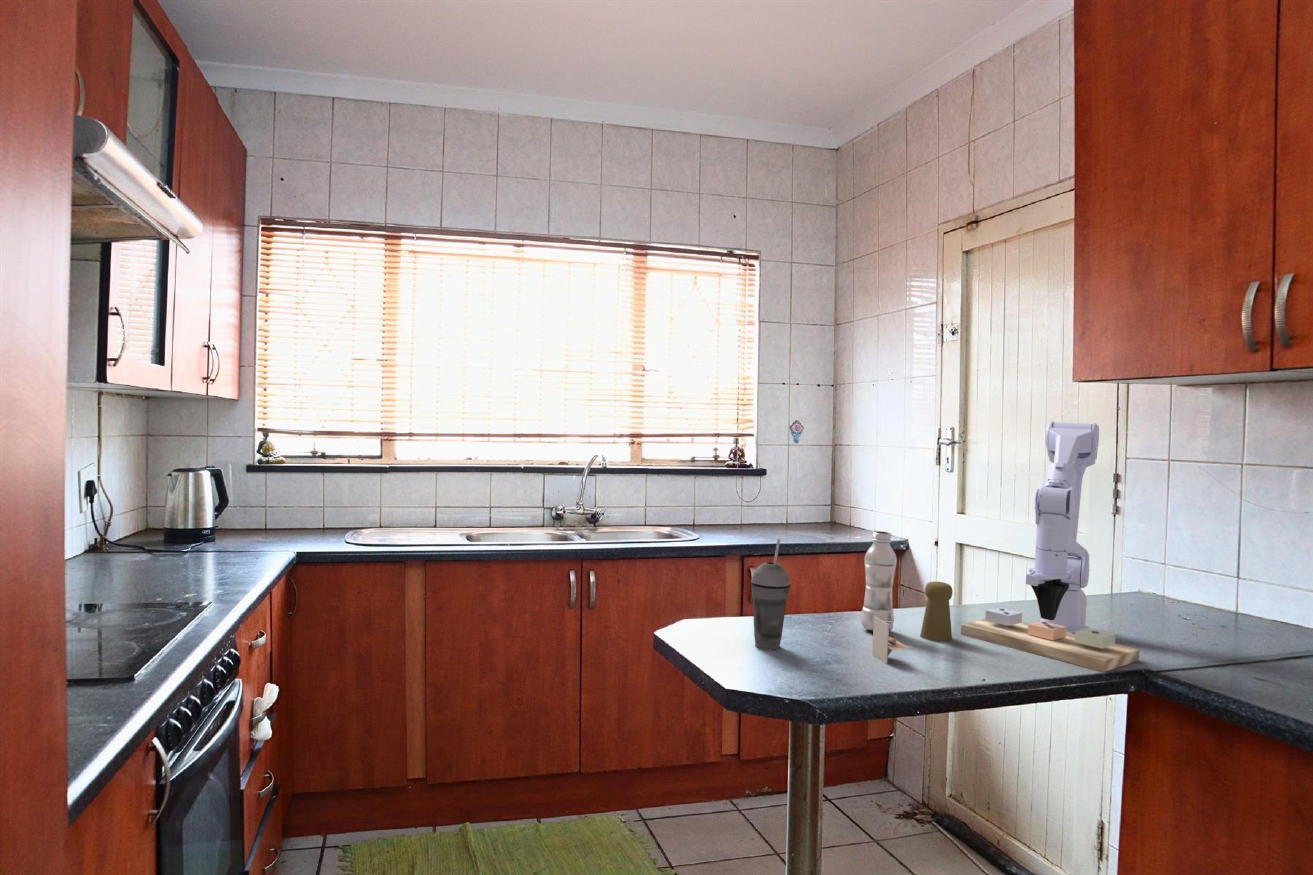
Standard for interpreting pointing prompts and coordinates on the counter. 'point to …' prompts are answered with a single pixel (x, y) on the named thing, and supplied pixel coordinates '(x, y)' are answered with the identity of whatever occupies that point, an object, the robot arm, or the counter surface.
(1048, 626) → the tile three
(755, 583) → the beverage cup
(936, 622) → the cork
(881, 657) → the architectural model
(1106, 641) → the tile one
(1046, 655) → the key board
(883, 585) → the plastic bottle
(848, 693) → the counter surface
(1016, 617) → the tile two
